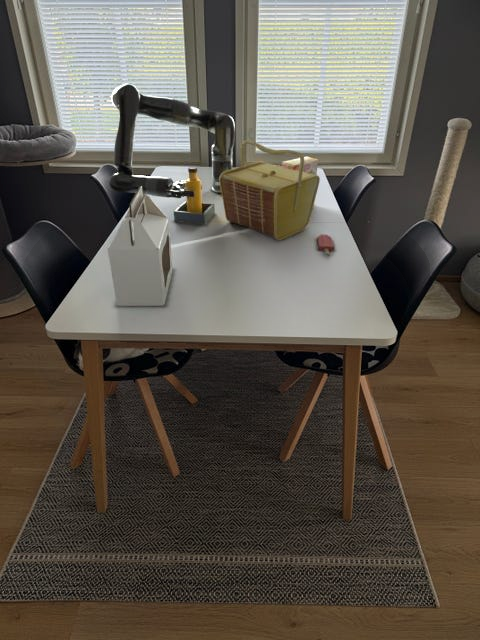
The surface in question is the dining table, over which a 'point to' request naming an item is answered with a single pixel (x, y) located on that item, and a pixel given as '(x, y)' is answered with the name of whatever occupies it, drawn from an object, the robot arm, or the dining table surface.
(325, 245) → the popsicle
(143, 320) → the dining table surface
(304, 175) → the picnic basket
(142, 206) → the gable box
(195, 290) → the dining table surface
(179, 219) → the tub
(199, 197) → the bottle
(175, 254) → the dining table surface
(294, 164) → the coffeecake box
